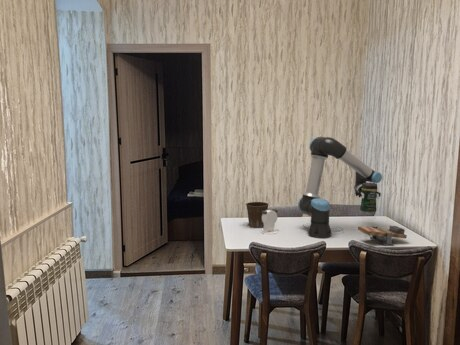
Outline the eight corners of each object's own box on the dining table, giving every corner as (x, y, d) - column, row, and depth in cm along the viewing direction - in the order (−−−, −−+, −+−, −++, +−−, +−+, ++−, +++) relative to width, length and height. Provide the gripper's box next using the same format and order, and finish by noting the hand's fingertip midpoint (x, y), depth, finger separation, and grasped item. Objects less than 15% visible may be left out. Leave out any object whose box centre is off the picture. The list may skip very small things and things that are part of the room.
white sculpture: (270, 228, 270) (270, 207, 268) (281, 232, 261) (282, 210, 259) (257, 231, 262) (257, 209, 261) (268, 235, 253) (268, 212, 252)
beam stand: (384, 246, 230) (385, 233, 229) (369, 238, 246) (370, 226, 245) (393, 245, 231) (394, 233, 230) (378, 238, 247) (378, 226, 246)
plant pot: (248, 229, 268) (248, 206, 266) (243, 223, 284) (243, 202, 282) (271, 228, 271) (271, 205, 269) (264, 222, 287) (264, 201, 285)
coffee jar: (363, 212, 246) (364, 183, 244) (358, 209, 254) (359, 182, 252) (378, 212, 247) (379, 183, 244) (373, 209, 255) (374, 181, 252)
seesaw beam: (368, 235, 229) (369, 226, 229) (357, 229, 241) (358, 221, 241) (406, 238, 235) (407, 230, 234) (394, 233, 247) (395, 225, 246)
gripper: (378, 196, 266) (387, 202, 244) (347, 195, 269) (353, 201, 246) (379, 185, 265) (388, 191, 243) (347, 184, 268) (353, 190, 245)
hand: (370, 196), depth 245 cm, fingers closed on coffee jar, 8 cm apart
